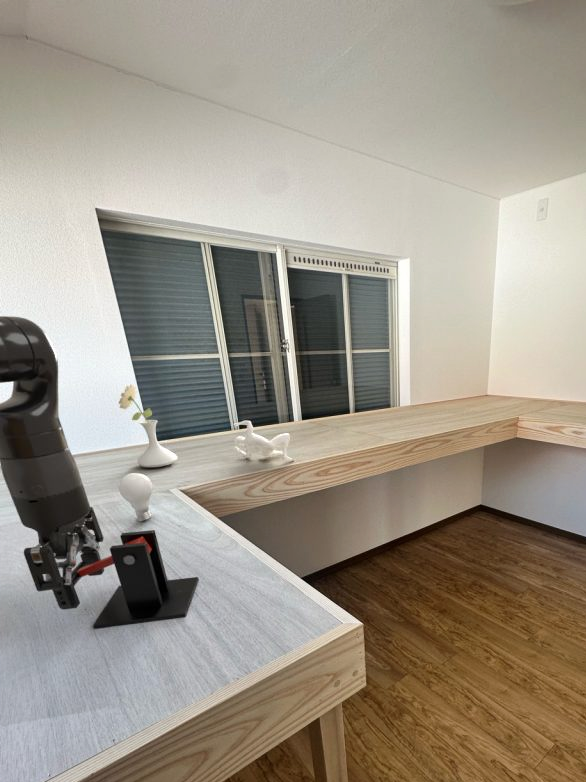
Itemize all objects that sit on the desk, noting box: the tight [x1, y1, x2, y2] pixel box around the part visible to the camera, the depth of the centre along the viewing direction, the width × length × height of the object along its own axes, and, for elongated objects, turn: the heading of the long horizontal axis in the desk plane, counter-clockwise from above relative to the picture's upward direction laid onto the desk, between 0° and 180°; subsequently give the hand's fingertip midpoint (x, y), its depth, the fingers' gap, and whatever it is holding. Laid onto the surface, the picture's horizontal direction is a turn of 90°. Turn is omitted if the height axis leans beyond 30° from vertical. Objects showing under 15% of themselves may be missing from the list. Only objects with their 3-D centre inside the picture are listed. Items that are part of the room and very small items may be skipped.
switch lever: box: [71, 536, 152, 587], centre depth 60 cm, size 11×5×2 cm, turn 101°
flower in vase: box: [118, 383, 178, 468], centre depth 126 cm, size 13×11×25 cm
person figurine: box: [233, 419, 292, 461], centre depth 134 cm, size 13×13×18 cm
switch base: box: [92, 529, 199, 630], centre depth 61 cm, size 12×10×12 cm
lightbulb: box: [118, 472, 154, 522], centre depth 91 cm, size 6×6×11 cm
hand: (84, 589), depth 60 cm, fingers open, 8 cm apart
